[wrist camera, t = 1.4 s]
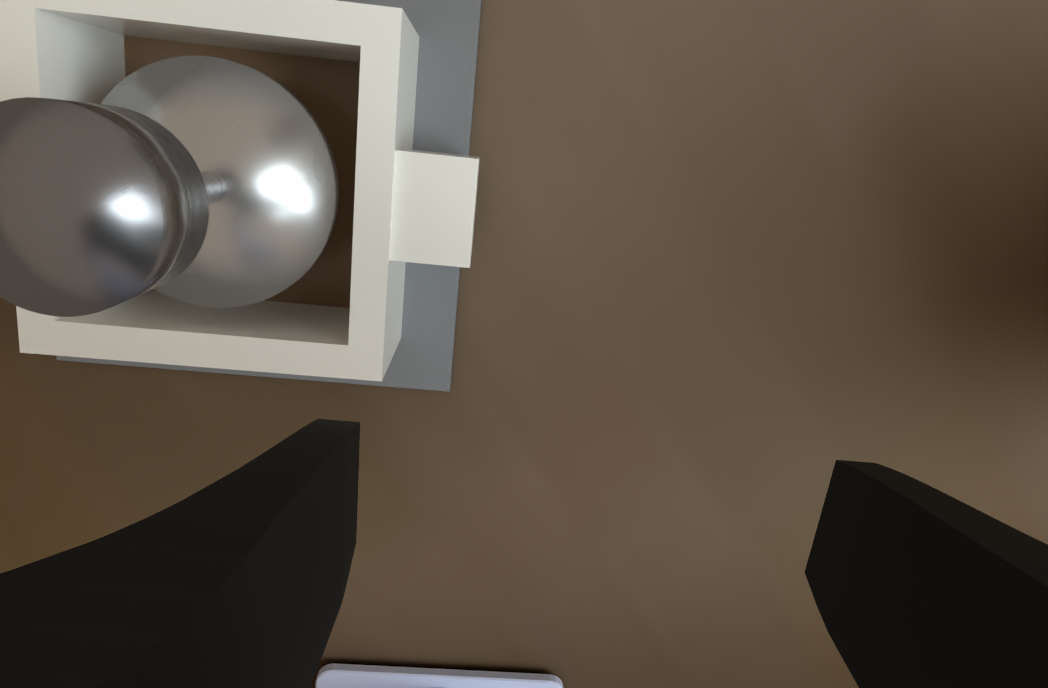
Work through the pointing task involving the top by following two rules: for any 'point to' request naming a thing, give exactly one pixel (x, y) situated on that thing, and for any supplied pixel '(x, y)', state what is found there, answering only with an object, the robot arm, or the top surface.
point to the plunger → (163, 191)
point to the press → (362, 166)
